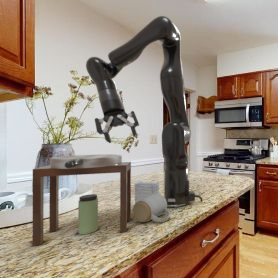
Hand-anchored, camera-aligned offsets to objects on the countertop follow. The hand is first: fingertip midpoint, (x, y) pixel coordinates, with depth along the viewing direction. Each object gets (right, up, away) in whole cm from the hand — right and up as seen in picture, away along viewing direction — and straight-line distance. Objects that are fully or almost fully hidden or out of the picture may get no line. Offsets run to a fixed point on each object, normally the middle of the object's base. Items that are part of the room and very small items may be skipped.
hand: (122, 139), depth 81 cm
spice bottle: (+3, -26, -21) cm, 34 cm away
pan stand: (+5, -26, -24) cm, 36 cm away
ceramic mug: (+18, -27, -13) cm, 35 cm away
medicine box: (+8, -27, +4) cm, 28 cm away
